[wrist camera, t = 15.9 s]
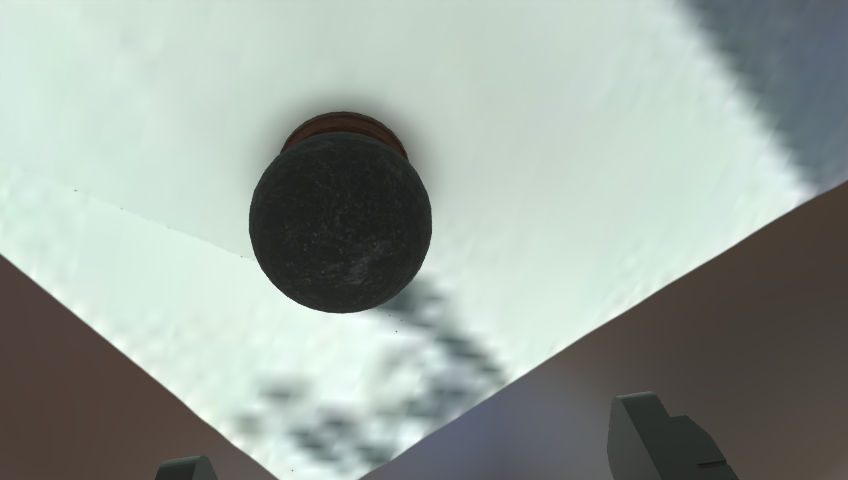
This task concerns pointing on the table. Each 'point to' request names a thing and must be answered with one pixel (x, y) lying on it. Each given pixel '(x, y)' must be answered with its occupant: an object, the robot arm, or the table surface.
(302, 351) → the table surface
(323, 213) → the dark ball on base
